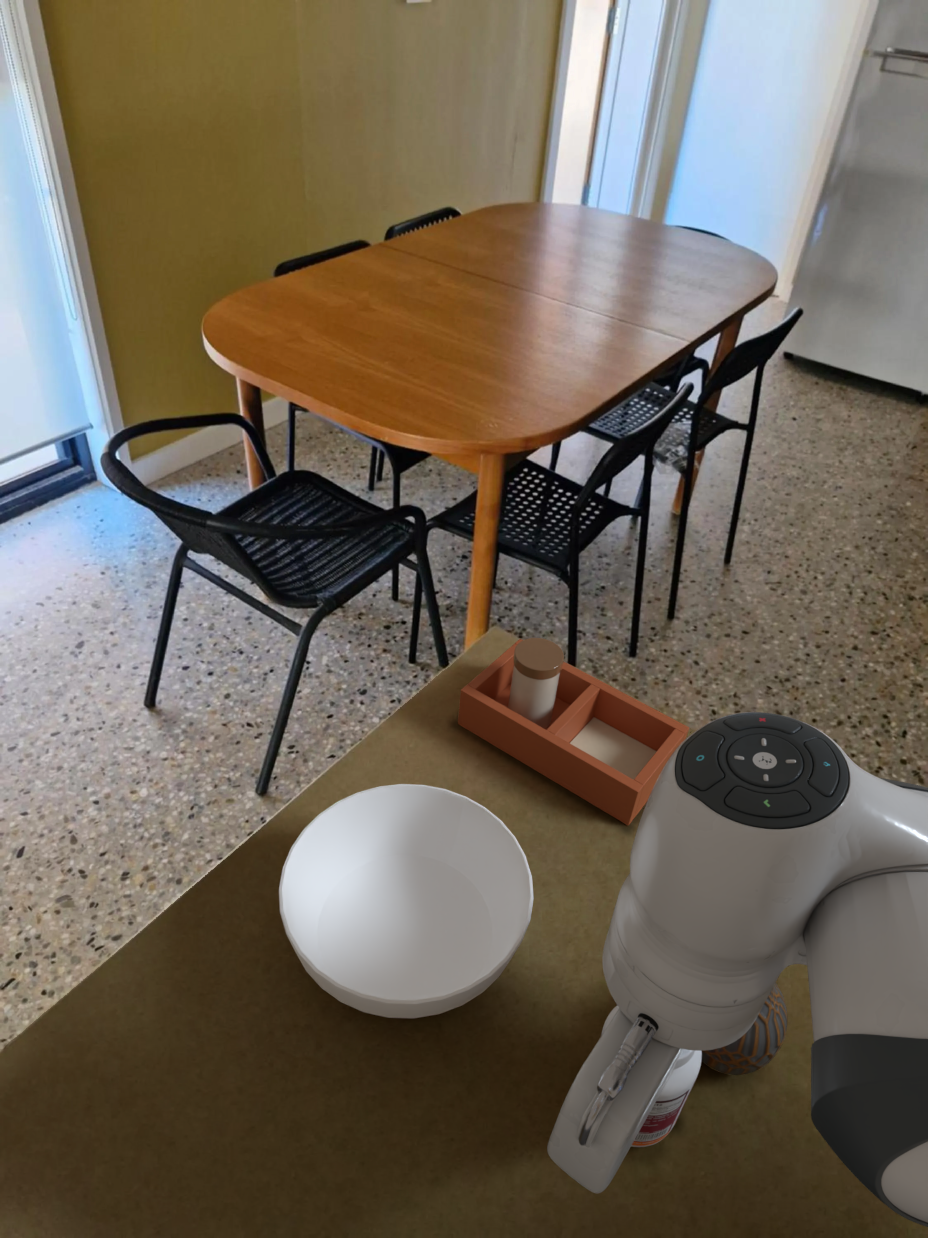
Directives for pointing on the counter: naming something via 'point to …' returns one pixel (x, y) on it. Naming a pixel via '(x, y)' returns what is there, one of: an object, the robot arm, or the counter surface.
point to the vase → (753, 1040)
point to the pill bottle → (667, 1096)
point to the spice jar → (535, 679)
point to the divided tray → (577, 736)
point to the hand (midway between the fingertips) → (641, 1072)
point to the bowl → (405, 899)
